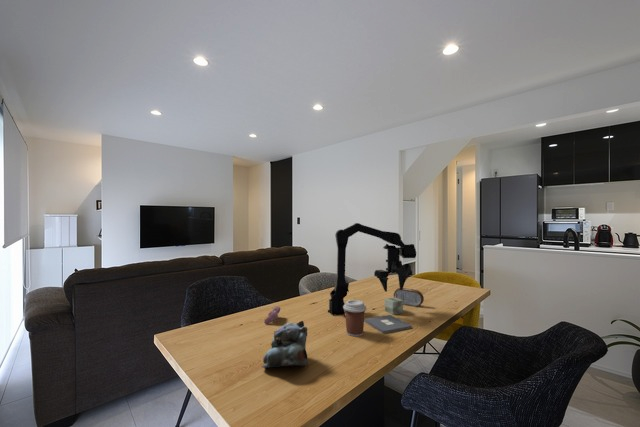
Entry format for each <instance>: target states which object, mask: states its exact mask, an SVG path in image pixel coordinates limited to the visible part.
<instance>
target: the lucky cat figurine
mask: <svg viewBox="0 0 640 427" xmlns="http://www.w3.org/2000/svg"><path fill="white" fill-rule="evenodd" d="M307 337H308V327H307V326H305V322H304V321H303V320H301V321H299V322H298V323H295V322H287V323H284V324H283V325H282V326H280V327H279V328H278V329H276V330H274V331H273V339H272V340H271V343H270V346H271V347H270V349H269V350H268V351H267V352H265V354H264V356H263V359H262V361H263V363H264V364H263V365H262V366H261V368H264V369H267V368H276V367H289V366H299V367H300V366H303V367H305V366H308V365H309V363H308V361H309V360H308V354H307V353H308V352H307V350H306V343H307Z"/></svg>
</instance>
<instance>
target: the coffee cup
mask: <svg viewBox="0 0 640 427" xmlns="http://www.w3.org/2000/svg"><path fill="white" fill-rule="evenodd" d="M343 309H344V310H345V311H344V312H345V316H344V317H345V325H346V326H345V327H346V335H348V336H351V337H361V336H363V335H364V325H365V322H364V319H365V314H366V311H367V306H366V305H365V303H364V302H363V301H362V300H359V299H349V300H347V301H345V305H344V306H343Z"/></svg>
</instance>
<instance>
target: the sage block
mask: <svg viewBox="0 0 640 427" xmlns="http://www.w3.org/2000/svg"><path fill="white" fill-rule="evenodd" d="M384 312H386V313H388V314H389V315H392V316H395V315H400V314H403V313H404V305H403V301H402V300H400V299H397V298H394V297H389V298H384Z"/></svg>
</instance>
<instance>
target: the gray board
mask: <svg viewBox="0 0 640 427" xmlns="http://www.w3.org/2000/svg"><path fill="white" fill-rule="evenodd" d="M364 323H366V324H368V325H369V326H371V327H372V328H374V329H375V330H377V331H379V332H380V333H382V334H389V333H394V332H400V331H405V330H409V329H412V327H413V326H412V324H410V323H407V322H405V321H404V320H401V319H399V318H397V317H395V315H392V314H387V315H381V316H376V317H368V318H364Z"/></svg>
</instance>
